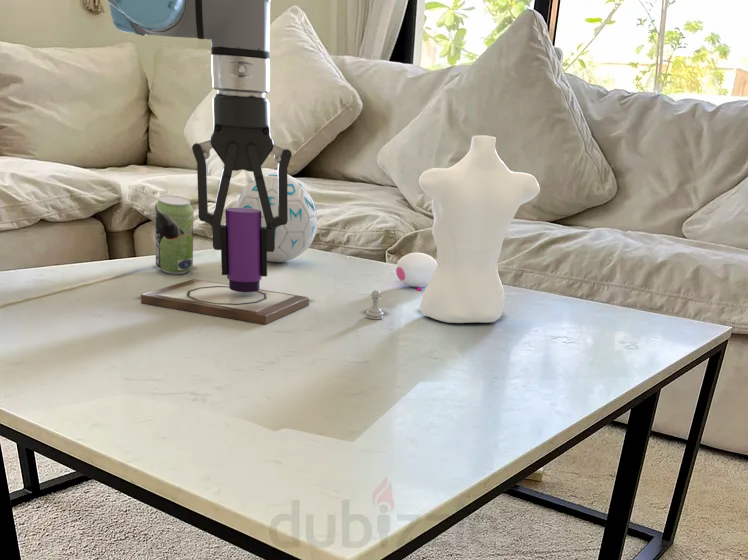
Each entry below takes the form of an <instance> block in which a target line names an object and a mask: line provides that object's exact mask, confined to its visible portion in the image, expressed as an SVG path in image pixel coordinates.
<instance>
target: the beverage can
mask: <svg viewBox="0 0 748 560" xmlns="http://www.w3.org/2000/svg"><path fill="white" fill-rule="evenodd" d="M154 226H155V228H154V233H155V235H154V236H155V241H154V242H155V265H156V266H157V268H159V269H160V270H161V271H162V272H164V273H166V274H169V275H183V274H187V272H188V271H190V270H192V269H193V267H194V208H193V206H192V204H191V201H190V199H189V198H186V197H184V196H179V195H172V194H171V195H168V194H167V195H161V196H159V197H158V201H157V202H156V204H155V206H154Z"/></svg>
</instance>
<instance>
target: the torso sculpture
mask: <svg viewBox="0 0 748 560" xmlns="http://www.w3.org/2000/svg"><path fill="white" fill-rule="evenodd" d="M496 143H497V138H496V136H491V135H488V134H487V135H486V134H484V135H483V134H482V135H477V134H476V135H473V136H472V137H471V144H470V148H469V150H468V152H466V154H465V155H464V157H462V159H460V160H459V161H458V162H456V163H455V164H453V165H452V166H450V167H433V168H428V169H426V170H424V171H423V172H422V173H421V174H420V176H419V178H418V185H419V187H420V189H421V190H422V192H423V193H424V194H425V195H426V196H427V197H429V198H430V199H431V213H432V216H433V224H432V227H431V233H432V238H433V240H434V243H435V247H436V260H437V261H436V262H437V268H436V270H435V272H434V274H433V276H432V278H431V279H430V281H429V283H428V285H427V286H425V288H424V291H423V294H422V296H421V299H420V300H421V301H420V303H419V310H420V313H421V314H422V315H423V316H425V317H427V318H431V319H434V320H436V321H440V322H443V323H449V324H454V323H455V324H464V323H467V324H468V323H469V324H470V323H481V324H483V323H485V324H487V323H494V322H496V321H498V320H499V319H501V317H502V313H503V310H504V305H505V291H504V287H503V284H502V281H501V278H500V275H499V270H498V262H499V259H500V256H501V252H502V247H503V243H504V240H505V239H506V237H507V234H508V232H509V230H510V225H511V223H512V222H513V221H514V218H515V216H516V214H517V212H518V211H519V208H520V207H521V206H522V205H524V204H527V203H529V202H530V201H532V200H533V199H535V198H536V197H537V196H538V195H539V193H540V192H541V187H540V185H539V182H538V180H537V178H536V177H535V176H534V175H532V174H530V173H525V172H521V171H513V170H510V168H508V166H507V165H506V164H505V163H504V161H503V160H502V159H501V158H500V156H499V155H498V153H497V150H496Z"/></svg>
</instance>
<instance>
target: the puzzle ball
mask: <svg viewBox="0 0 748 560" xmlns="http://www.w3.org/2000/svg"><path fill="white" fill-rule="evenodd" d="M263 178H264V182H265V186H266V190H267V194H268V198H269V202H270V207H271V211H272V215H273V217H275V216H278V174H268V173H267V175H263ZM287 203H288V221H287V224H285V225H281V226H278V227H277V228H276V229H275V249H274V252H267V262H271V263H284V262H288V261H291V260H294V259H295V258H298V257H299V256H300V255H302V254H303V253H304V252H306V251H307V250H308V249H309V248H310V246H311V245H312V244H313V241H314V240H315V236H316V234H317V230H318V213H317V206H316V204H315V201H314V199H313V198H312V196H311V195H310V193H309V192H308V191H307V190H306V189H305V188H304V187H303V185H302V184H301V183H299V182H296V181H295V180H294V179H292V178H290V177H288V176H287ZM235 208H251V209H257V210H260V211H261V227H266V222H265V218H264V214H263V210H262V206H261V202H260V198H259V194H258V190H257V186H256V182H255V179H254V180H252V181H251V182H249V184H248V185H247V186H246V187H245V188H244V190H242V191H241V193H240V195H239V197H238V200H237V202H236V205H235Z"/></svg>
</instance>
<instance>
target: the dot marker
mask: <svg viewBox="0 0 748 560" xmlns="http://www.w3.org/2000/svg"><path fill="white" fill-rule="evenodd" d="M224 211H225V212H224V214H225V225H226V248H227V275H226V278H227V280H228V281H229V288H230V289H231V290H233V291H237V292H255V291H258V290H259V289H261V288H260V286H261V285H260V283H261V281H262V278H263V276H262V274H261V211H260V210H257V209H251V208H236V207H228V208H225V209H224Z"/></svg>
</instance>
